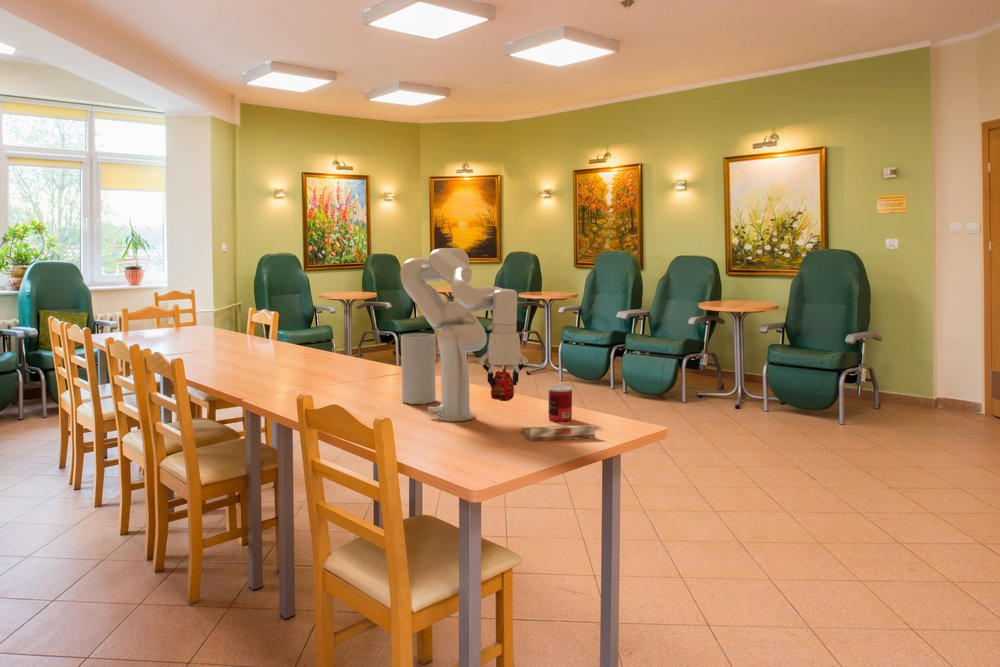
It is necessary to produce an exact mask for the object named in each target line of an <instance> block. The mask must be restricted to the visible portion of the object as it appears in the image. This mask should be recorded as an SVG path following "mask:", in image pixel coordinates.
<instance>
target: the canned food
mask: <svg viewBox="0 0 1000 667" xmlns="http://www.w3.org/2000/svg"><path fill="white" fill-rule="evenodd" d="M572 409H573V387H571V386H567V385H554V386H549V388H548V420H549V421H550V422H551V421H553V422H552V423H556V422H565V423H569V422H571V421H572V417H573V414H572V412H573V410H572ZM570 420H571V421H570ZM568 421H569V422H568Z"/></svg>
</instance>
